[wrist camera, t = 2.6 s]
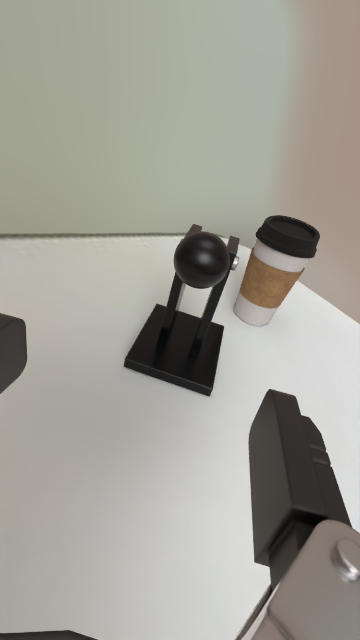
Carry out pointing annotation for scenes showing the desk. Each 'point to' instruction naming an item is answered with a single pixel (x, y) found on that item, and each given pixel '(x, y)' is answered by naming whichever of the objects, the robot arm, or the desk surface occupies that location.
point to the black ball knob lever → (201, 260)
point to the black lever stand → (182, 337)
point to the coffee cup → (274, 267)
